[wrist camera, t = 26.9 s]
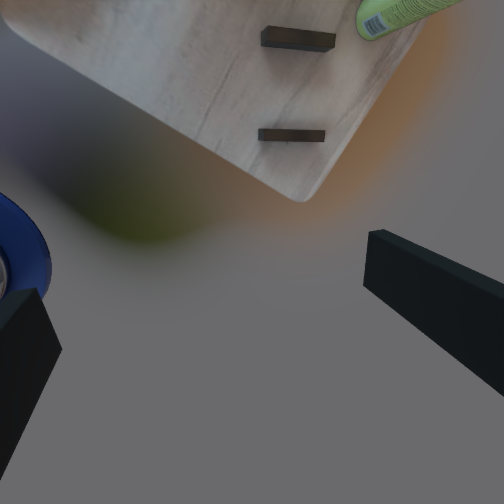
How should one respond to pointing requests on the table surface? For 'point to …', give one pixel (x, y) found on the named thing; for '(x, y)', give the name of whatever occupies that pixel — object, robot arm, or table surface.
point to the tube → (394, 15)
